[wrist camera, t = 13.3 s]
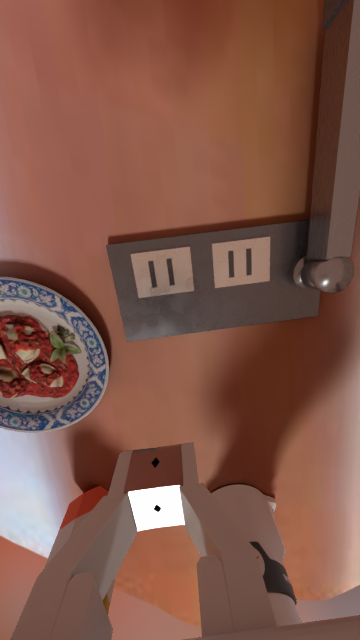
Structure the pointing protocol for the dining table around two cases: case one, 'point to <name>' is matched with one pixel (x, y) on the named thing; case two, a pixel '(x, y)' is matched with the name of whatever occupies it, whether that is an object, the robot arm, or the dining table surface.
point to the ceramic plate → (46, 359)
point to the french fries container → (73, 520)
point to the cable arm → (336, 152)
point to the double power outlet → (212, 280)
